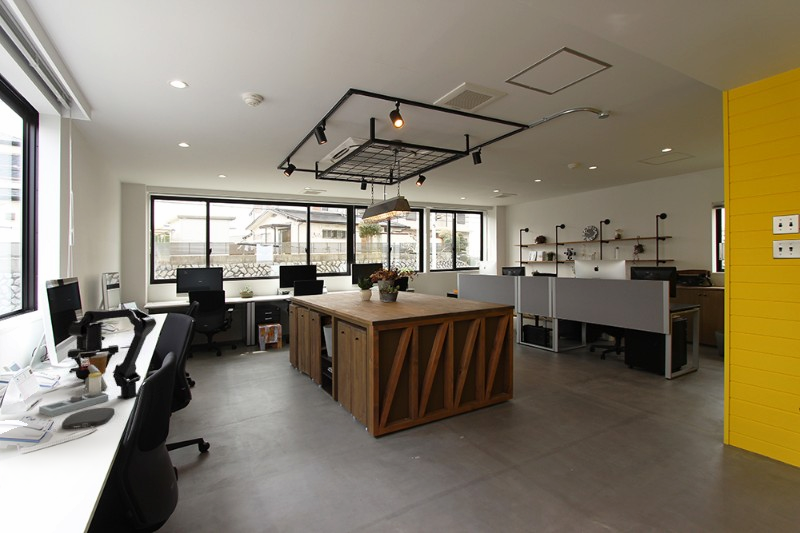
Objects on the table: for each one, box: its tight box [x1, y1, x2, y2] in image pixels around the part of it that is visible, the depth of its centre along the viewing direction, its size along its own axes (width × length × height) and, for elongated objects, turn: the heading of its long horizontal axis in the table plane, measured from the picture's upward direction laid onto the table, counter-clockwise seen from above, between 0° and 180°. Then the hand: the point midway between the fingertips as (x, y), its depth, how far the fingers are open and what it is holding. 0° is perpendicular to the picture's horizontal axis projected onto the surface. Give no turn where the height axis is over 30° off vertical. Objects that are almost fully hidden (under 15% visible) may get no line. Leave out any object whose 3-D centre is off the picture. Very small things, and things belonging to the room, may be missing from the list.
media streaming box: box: [61, 407, 115, 431], centre depth 154 cm, size 15×15×3 cm
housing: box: [38, 393, 109, 418], centre depth 169 cm, size 10×21×2 cm, turn 154°
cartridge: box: [88, 372, 103, 396], centre depth 175 cm, size 5×5×10 cm
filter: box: [74, 335, 106, 383], centre depth 203 cm, size 14×9×30 cm
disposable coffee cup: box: [88, 352, 108, 374], centre depth 217 cm, size 10×10×12 cm
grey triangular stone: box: [84, 365, 108, 392], centre depth 193 cm, size 16×9×11 cm, turn 37°
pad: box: [82, 391, 107, 399], centre depth 175 cm, size 7×6×1 cm
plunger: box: [70, 394, 83, 403], centre depth 169 cm, size 4×4×3 cm
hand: (93, 369), depth 182 cm, fingers open, 9 cm apart
